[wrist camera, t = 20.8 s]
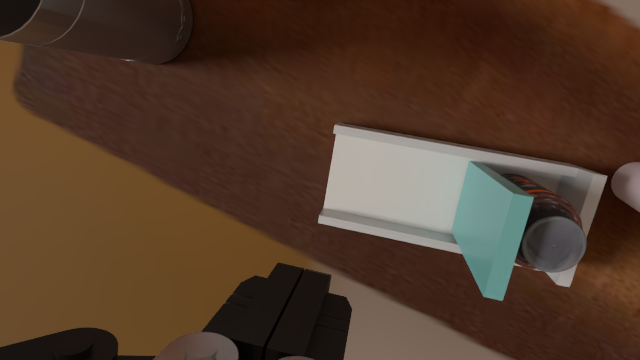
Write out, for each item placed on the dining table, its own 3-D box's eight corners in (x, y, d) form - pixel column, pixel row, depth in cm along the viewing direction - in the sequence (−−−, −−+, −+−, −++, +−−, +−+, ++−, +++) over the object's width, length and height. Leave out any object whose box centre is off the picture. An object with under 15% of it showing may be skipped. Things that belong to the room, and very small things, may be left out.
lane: (323, 212, 41) (313, 231, 35) (339, 122, 38) (330, 126, 33) (541, 258, 38) (569, 287, 32) (571, 163, 35) (607, 176, 30)
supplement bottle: (551, 186, 35) (625, 224, 24) (520, 242, 37) (576, 302, 26) (488, 161, 36) (534, 188, 25) (460, 217, 37) (491, 266, 26)
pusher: (451, 230, 37) (483, 296, 25) (469, 161, 36) (513, 193, 23) (463, 233, 37) (502, 301, 25) (482, 163, 36) (534, 197, 23)
